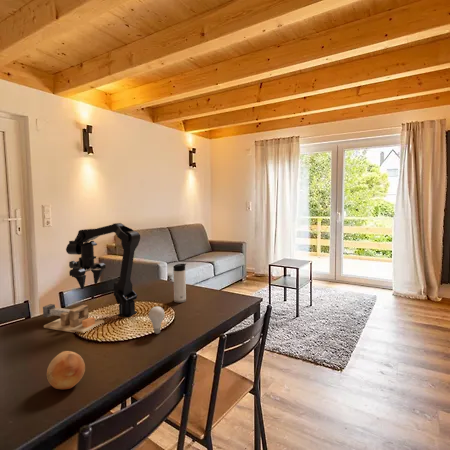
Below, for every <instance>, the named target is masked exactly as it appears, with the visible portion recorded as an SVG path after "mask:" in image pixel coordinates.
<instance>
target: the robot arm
mask: <svg viewBox="0 0 450 450" xmlns="http://www.w3.org/2000/svg"><path fill="white" fill-rule="evenodd" d="M113 233H114V234H115V235H116V237H117V239H119V240H121V247H122V249H123V252H122V260H121V266H120V274H119V280H117V281H115V282H114V283H113V289H112V292H113V296H114V298H115V300H116V303H117V304H118V312H119V313H118V314H117V316H118V317H119V316H120V317H127V318H129V317H132V316H133V315H136V313H138V311H137V310H136V304H135V303H136V302H135V301H136V300H137V298H138V294H137V293H136V291H134V290H133V283H132V281H131V278H132V270H133V266H134V265H133V264H134V256H135V251H136V250H137V247H138V246H139V245H140V244H139V243H140V240H141V234H140V233H139V232H138V231H136V230H134V229H132V228H130V227H129V226H126V225H125V224H123V223H121V222H116V223H112V224H109V225H106V226H101V227H97V228H86V229H85V228H83V229H79V230H78V232H77V234H76V237H75V238H74V240H68V244H67V246H66V248H65V251H66V253H67V254H68V255H77V256H78V255H79V256H80V257H79V258H78V260H77V261H76V260H71V261H69V262H68V266H69V268H70V270H69V276H70V277H72V278H74V279H76V281H77V283H78V284H79V287H80V289H81V290H84V289H85V286H86V285H85V284H86V277H87V275H86V272H90V271H91V273H92V274H93V283H94V285H97V284H98V282H99V280H100V278H101V276H102V273H103V272H104V270H105V269H106V263H104V262H95V259H97V256H95V250H94V246H95V247H96V246H97V245H98V243H96V242H95V241H94V240H96V239H97V238H99V237H100V236H106V235H110V234H113Z"/></svg>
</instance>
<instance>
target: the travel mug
mask: <svg viewBox="0 0 450 450" xmlns="http://www.w3.org/2000/svg"><path fill="white" fill-rule="evenodd" d="M186 264H187V263H177V264H175V265H173V272H172V273H173V301H174V302H175V303H179V304H181V303H185V302H187V293H186V292H187V291H186V290H187V287H186V284H187V283H186V278H187V277H186V266H187V265H186Z"/></svg>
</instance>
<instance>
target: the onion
mask: <svg viewBox="0 0 450 450" xmlns="http://www.w3.org/2000/svg"><path fill="white" fill-rule="evenodd" d="M85 371H86V364H85V360H84V359H83V358H82V356H81V355H80V354H78V353H77V352H75V351H71V350H62V351H61V352H60V353H58V354H57V355H56V356H54V357H53V358H52V360H51V361H50V362H49V364H48V366H47V370H46V378H47V381H48V383H49V384H50V385H51V387H53V388H54V389H57V390H69V389H72V388H74V387H75V386H76V385H77V384H78V383H79V382H80V381H81V380H82V378H83V377H84V374H85Z"/></svg>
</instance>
